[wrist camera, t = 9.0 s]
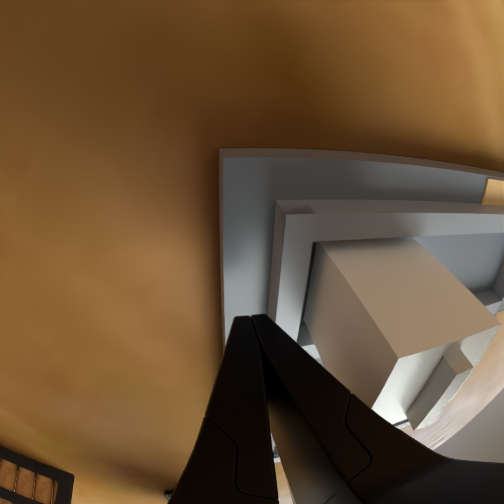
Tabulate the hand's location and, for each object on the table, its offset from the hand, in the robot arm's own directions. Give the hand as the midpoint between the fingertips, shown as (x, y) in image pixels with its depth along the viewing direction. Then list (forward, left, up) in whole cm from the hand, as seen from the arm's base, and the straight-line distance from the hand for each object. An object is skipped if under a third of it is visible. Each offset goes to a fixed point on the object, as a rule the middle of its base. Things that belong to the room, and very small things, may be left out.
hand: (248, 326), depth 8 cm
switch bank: (-5, -7, -3) cm, 10 cm away
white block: (0, -4, -2) cm, 4 cm away
